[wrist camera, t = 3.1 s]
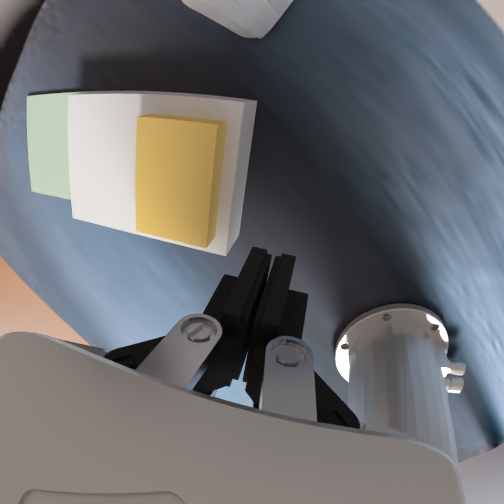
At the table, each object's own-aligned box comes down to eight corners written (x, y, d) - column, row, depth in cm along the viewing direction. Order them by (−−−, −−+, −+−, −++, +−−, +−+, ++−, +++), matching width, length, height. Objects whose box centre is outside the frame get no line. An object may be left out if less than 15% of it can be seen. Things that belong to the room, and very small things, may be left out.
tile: (227, 121, 21) (217, 124, 19) (215, 236, 25) (206, 248, 24) (151, 113, 22) (137, 116, 20) (148, 221, 26) (136, 231, 25)
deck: (257, 100, 24) (244, 102, 20) (238, 235, 30) (225, 256, 26) (95, 91, 26) (68, 94, 22) (96, 203, 32) (73, 217, 28)
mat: (93, 91, 26) (91, 91, 25) (94, 203, 32) (92, 204, 31) (29, 95, 27) (26, 96, 27) (33, 190, 33) (31, 191, 33)
